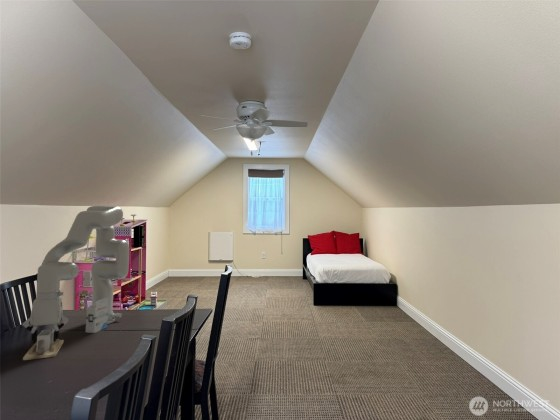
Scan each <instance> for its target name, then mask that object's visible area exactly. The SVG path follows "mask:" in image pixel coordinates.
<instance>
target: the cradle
mask: <svg viewBox="0 0 560 420" xmlns="http://www.w3.org/2000/svg"><path fill="white" fill-rule="evenodd" d="M64 342H65V341H64V339H60V338H57V340H56V341H55V342H54V344H53V345H52V347H51V348H50V350H49V351H44V340H39V341H38V350H37V352H36V349H37V342H36V343H35V344H33V345H32V346H31V347H30V348H29V349H28V351H27V352H26V353H25V355H24V356H23V357H22V361H28V360H29V361H30V360H36V359H38V360H39V359H43V358H44V359H46V358H52V357H53V358H55V357H56V356H57V355H58V352H59V350H60V349H61V348H62V346H63V344H64Z"/></svg>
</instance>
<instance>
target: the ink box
mask: <svg viewBox="0 0 560 420" xmlns="http://www.w3.org/2000/svg"><path fill="white" fill-rule="evenodd" d="M101 301H104V302H103V303H100V302H101ZM85 315H86V319H85V333H88V334H96V333H98V332H100V331H103V330H105V329H107V327H108V324H107V317H108V298H105V299H101V300H98V301H96V303H95V305H92V304H91V305H90V306H87V307H86V314H85Z"/></svg>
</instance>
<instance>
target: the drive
mask: <svg viewBox="0 0 560 420" xmlns="http://www.w3.org/2000/svg"><path fill="white" fill-rule="evenodd" d="M54 331H55V328H52V329H42V330H41V331H40V333H38V336H37V349H36V352H37V350H38V341H39V340H44V351H49V350H50V348H51V347H52V345H53V344H54V341H53V336H54Z"/></svg>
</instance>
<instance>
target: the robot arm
mask: <svg viewBox="0 0 560 420" xmlns="http://www.w3.org/2000/svg"><path fill="white" fill-rule="evenodd" d="M123 218H124V211H123V209H122V208H121V207H119V206H117V205H92V206H89V207H87V209H86V210H83V211H80V212H78V213H77V214H76V216H75V218H74V221H73V222H72V224H71V227H70V229H69V231H68V233H67V235H66V237H65V238H64V239H63V240H61V241H60V242H58V243H57V244H55V245H54V246H53V247H51V249H49V251H48V252H47V253H46V255H45V257H44V259H43V260H42V262H41V265H40V266H38V268H37V279H36V292H35V293H36V297H35V299H34V300H33V302H32V306H31V312H30V317H29V318H28V319H26V320H25V321H23V322H22V324H21V326H23V327H24V328H25V329H26V330H27V331H29V332H30V334H31V341H32V344H33V345H34V344H35V343H36V342H37V336H38V335H39V331H38V328H39V327H41V326H51V325H52V326H53V329H54V336H53V341H54V342H55V341H56V340H57V339H60V330H61V329H62V328H63V327H64V326H65V325H66V324H67V323H68V322H69V321H70V318H68V317H67V316H66V315H65V314H64V313H63V311H64V310H63V301H62V297H61V296H64V292H63V291H61V290H60V286H61V284H60V283H61V281H70V280H71V281H72V280H73V279H75V278H77V276H78V275H79V272H80V267H79V266H78V264H76V263H74V262H72V261H71V262H70V261H69V262H68V261H60V260H61V259H62V257H64V256H65V255H67V254H68V253H70V252H74V251H77V250H79V249H81V248H84V247H85V246H87V244H88V242H89V239H90V237H91V235H92V232H93V230H95V231H96V232H95V233H96V234H95V236H96V237H95V254H96V256H97V257H99V258H110V259H100V260H99V259H98V260H96V261H95V262H94V263H92V265H91V270H90V271H91V278H92V296H91V306H92V305H95V303H96V301H98V300H101V299H105V298H108V317H107V325H109V324H112V323H114V322H116V318H122V317H123V313H120V312H116V313H115V312H114V310H113V304H114V302H113V301H114V283H113V282H112V280H123V279H125V278H127V276H128V274H129V267H130V266H129V265H130V245H129V242H128V241H126V240H125V239H117V238H116V235H115V234H116V233H115V232H116V231H115V230H116V229H115V225H117V224H119V223H120V222H121V221H122V220H123ZM113 259H115V260H113ZM103 302H104V301H101V302H100V303H103ZM61 321H62V322H61Z"/></svg>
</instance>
